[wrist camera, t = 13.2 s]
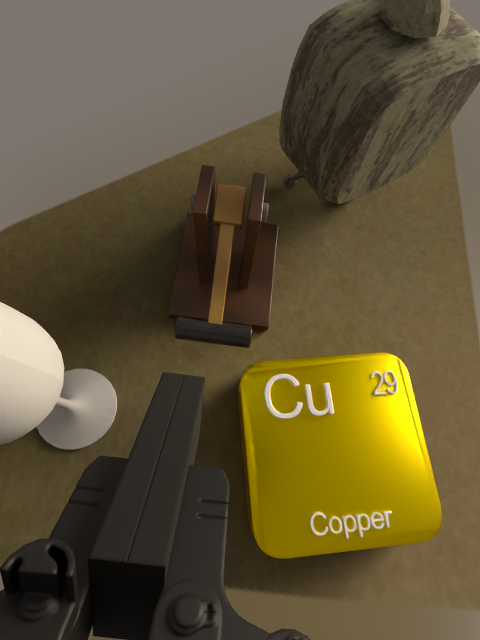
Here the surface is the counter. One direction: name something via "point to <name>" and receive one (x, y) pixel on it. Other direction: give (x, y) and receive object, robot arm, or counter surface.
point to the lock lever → (220, 277)
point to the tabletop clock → (375, 92)
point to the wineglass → (48, 389)
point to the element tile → (334, 456)
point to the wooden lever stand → (245, 263)
